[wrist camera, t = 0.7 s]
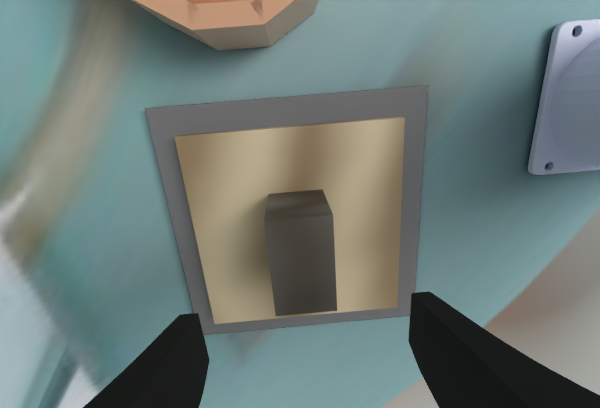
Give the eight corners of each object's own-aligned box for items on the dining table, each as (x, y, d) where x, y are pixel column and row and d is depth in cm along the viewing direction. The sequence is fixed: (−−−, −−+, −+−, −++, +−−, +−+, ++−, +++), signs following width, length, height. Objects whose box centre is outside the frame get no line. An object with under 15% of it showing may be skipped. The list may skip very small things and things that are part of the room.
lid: (399, 117, 16) (443, 122, 12) (393, 299, 20) (424, 357, 15) (179, 135, 16) (136, 148, 11) (217, 315, 20) (196, 378, 15)
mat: (423, 85, 16) (428, 85, 16) (410, 310, 21) (413, 315, 20) (149, 108, 16) (144, 108, 15) (201, 330, 21) (199, 335, 20)
